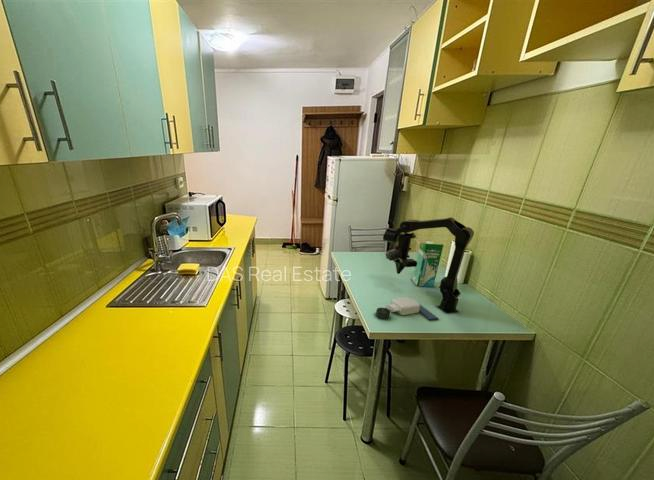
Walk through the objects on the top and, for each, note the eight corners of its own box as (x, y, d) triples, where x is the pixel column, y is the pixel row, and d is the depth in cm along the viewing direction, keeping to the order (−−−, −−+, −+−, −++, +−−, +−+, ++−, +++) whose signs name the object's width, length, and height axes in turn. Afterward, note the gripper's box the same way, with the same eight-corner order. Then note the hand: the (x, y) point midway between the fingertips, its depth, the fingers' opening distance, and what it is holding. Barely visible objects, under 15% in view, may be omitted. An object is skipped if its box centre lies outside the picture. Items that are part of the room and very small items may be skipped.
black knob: (384, 312, 143) (385, 306, 142) (391, 318, 138) (393, 312, 136) (373, 313, 142) (374, 307, 140) (379, 320, 136) (381, 314, 135)
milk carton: (427, 280, 179) (437, 239, 169) (433, 287, 171) (443, 244, 161) (412, 279, 180) (420, 239, 170) (416, 286, 172) (426, 243, 162)
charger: (379, 308, 146) (405, 304, 151) (392, 318, 138) (418, 313, 143) (381, 300, 144) (407, 296, 149) (393, 309, 136) (420, 304, 141)
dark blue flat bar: (417, 304, 151) (417, 302, 151) (438, 319, 138) (438, 318, 138) (409, 305, 150) (409, 303, 150) (429, 320, 137) (429, 319, 137)
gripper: (379, 240, 159) (375, 268, 166) (400, 251, 143) (394, 281, 149) (398, 239, 162) (393, 266, 168) (420, 250, 145) (414, 280, 151)
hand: (398, 273), depth 159 cm, fingers closed
